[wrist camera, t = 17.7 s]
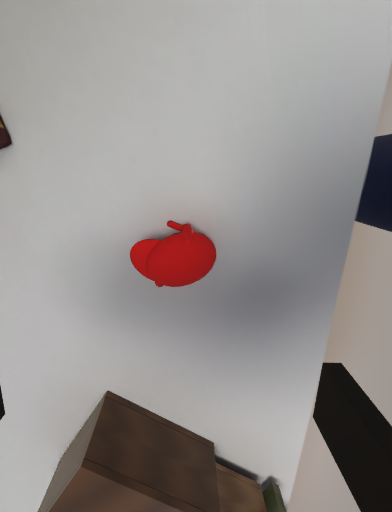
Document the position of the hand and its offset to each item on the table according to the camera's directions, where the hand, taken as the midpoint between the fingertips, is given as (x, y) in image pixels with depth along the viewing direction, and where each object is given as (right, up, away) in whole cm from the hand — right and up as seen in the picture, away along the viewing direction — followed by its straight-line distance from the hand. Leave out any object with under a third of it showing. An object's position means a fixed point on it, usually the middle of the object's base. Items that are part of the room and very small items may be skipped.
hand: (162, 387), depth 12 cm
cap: (-1, +6, +20) cm, 21 cm away
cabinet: (-6, -20, +27) cm, 35 cm away
